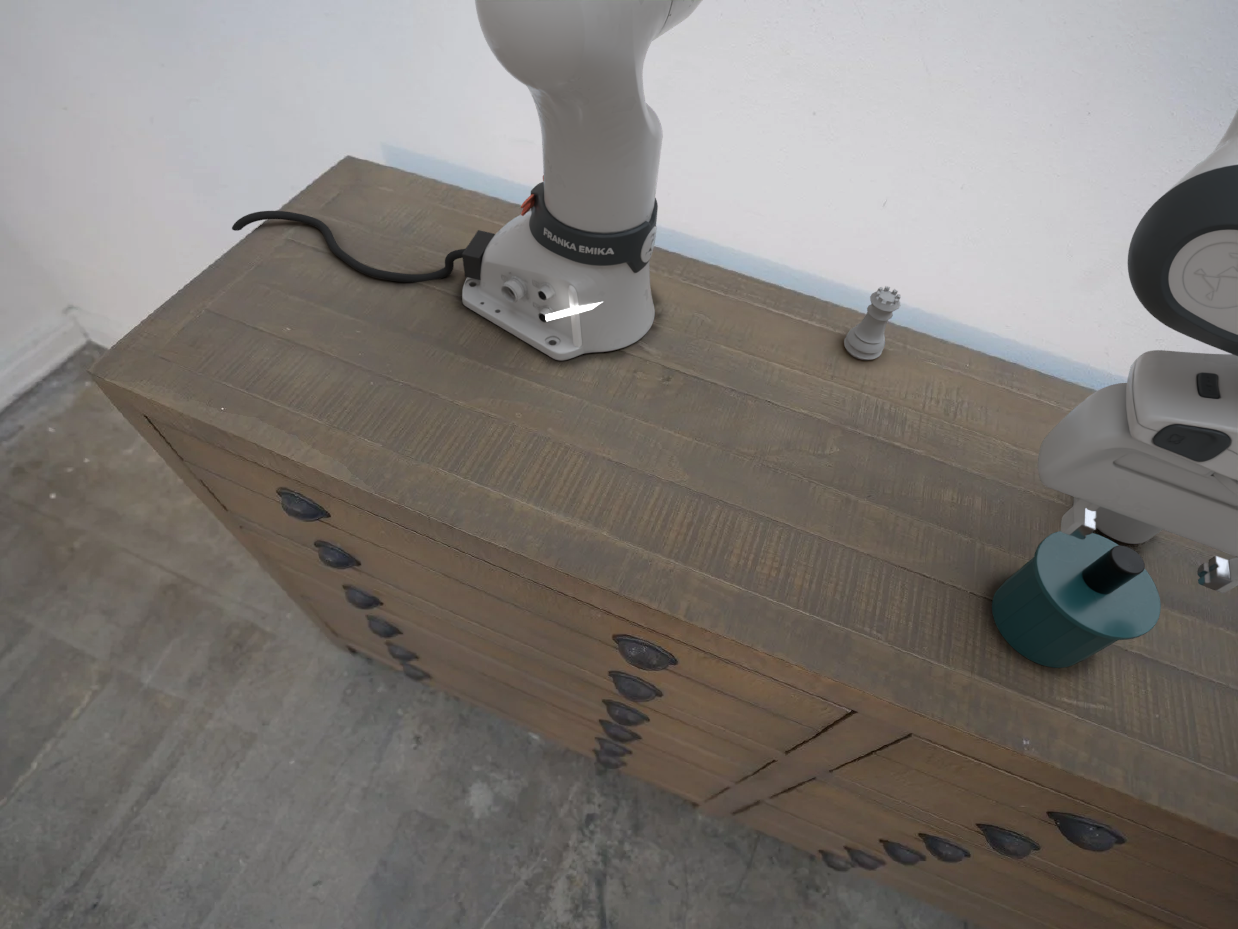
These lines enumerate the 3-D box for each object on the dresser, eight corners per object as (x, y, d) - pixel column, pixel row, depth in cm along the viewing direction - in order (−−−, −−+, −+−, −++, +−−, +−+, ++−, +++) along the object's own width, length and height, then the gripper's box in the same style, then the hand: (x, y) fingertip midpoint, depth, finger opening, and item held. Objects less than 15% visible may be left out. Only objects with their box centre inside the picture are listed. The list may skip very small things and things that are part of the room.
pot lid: (1023, 611, 52) (1059, 584, 48) (1033, 519, 57) (1066, 488, 53) (1152, 664, 50) (1199, 640, 46) (1150, 564, 55) (1192, 535, 52)
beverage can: (1155, 554, 64) (1261, 482, 55) (1086, 539, 65) (1179, 465, 55) (1139, 499, 68) (1235, 423, 58) (1074, 486, 68) (1158, 408, 59)
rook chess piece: (883, 341, 79) (911, 287, 73) (878, 367, 77) (907, 312, 70) (845, 330, 80) (870, 275, 74) (839, 355, 77) (865, 300, 71)
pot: (986, 642, 58) (1036, 604, 52) (997, 565, 62) (1043, 523, 56) (1086, 684, 56) (1149, 651, 50) (1089, 603, 61) (1148, 563, 55)
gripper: (1503, 464, 38) (1290, 578, 49) (1117, 341, 42) (1001, 471, 53) (1542, 553, 34) (1303, 654, 45) (1116, 408, 38) (993, 533, 50)
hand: (1138, 554), depth 49 cm, fingers open, 8 cm apart
